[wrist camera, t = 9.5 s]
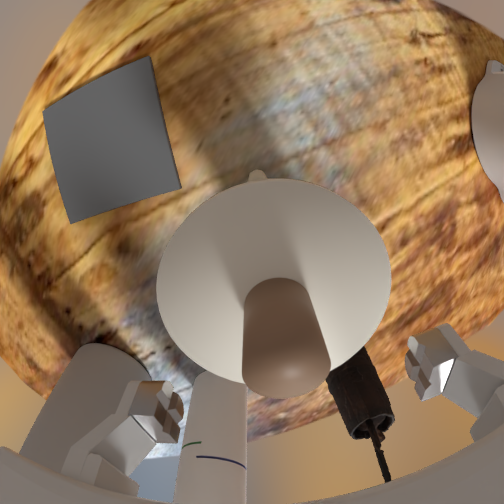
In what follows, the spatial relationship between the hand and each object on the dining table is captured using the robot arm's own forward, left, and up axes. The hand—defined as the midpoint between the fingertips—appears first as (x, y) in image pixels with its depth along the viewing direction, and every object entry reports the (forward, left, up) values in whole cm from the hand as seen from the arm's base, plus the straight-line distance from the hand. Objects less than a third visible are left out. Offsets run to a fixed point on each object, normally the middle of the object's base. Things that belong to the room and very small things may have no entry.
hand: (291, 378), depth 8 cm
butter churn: (-5, +14, -19) cm, 24 cm away
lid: (0, 0, -5) cm, 5 cm away
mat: (+13, -11, -18) cm, 25 cm away
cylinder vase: (+25, +17, -19) cm, 36 cm away
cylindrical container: (+10, +21, -19) cm, 30 cm away
